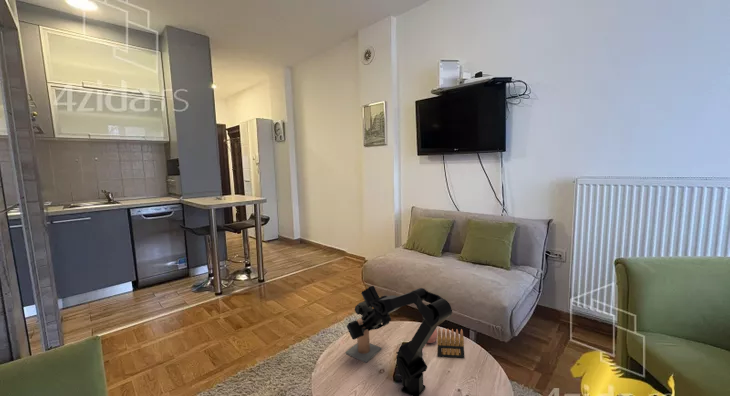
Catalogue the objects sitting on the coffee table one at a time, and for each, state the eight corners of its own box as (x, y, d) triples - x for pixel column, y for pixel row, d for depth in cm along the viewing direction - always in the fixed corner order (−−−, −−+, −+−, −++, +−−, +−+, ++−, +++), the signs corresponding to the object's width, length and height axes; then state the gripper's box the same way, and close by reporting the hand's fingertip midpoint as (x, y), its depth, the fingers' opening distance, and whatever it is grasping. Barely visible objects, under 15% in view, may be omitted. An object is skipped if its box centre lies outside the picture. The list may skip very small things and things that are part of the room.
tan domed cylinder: (372, 350, 128) (370, 321, 127) (361, 355, 125) (360, 325, 124) (365, 345, 132) (364, 316, 131) (355, 349, 130) (354, 320, 129)
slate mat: (381, 349, 130) (381, 347, 130) (366, 362, 121) (366, 361, 121) (361, 341, 137) (361, 339, 137) (345, 353, 128) (345, 352, 128)
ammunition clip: (437, 357, 123) (437, 329, 122) (437, 354, 125) (436, 326, 124) (464, 358, 122) (464, 330, 121) (463, 355, 123) (463, 328, 122)
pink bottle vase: (432, 335, 139) (432, 310, 138) (440, 344, 132) (440, 318, 131) (417, 338, 137) (416, 313, 136) (424, 347, 130) (424, 321, 129)
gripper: (384, 291, 129) (369, 307, 139) (348, 304, 118) (334, 321, 128) (397, 315, 124) (381, 330, 133) (361, 332, 112) (346, 347, 122)
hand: (361, 331), depth 129 cm, fingers open, 6 cm apart
